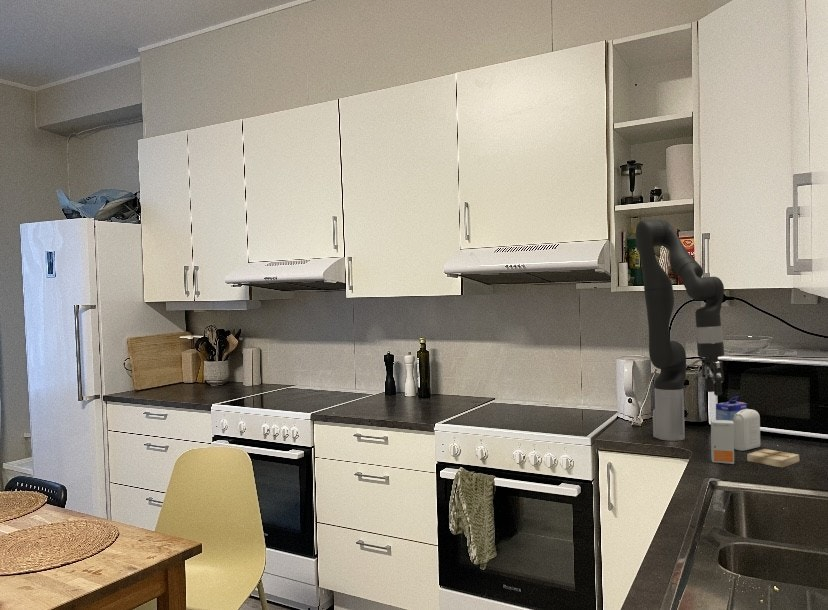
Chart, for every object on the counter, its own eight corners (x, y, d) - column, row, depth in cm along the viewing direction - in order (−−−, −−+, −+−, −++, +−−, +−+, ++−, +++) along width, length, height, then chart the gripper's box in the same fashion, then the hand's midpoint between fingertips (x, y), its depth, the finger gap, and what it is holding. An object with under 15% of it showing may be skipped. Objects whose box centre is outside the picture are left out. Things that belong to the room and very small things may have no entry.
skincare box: (712, 462, 192) (711, 422, 192) (711, 459, 196) (710, 419, 196) (735, 464, 190) (734, 423, 190) (733, 460, 194) (732, 420, 194)
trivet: (747, 460, 193) (747, 453, 193) (764, 455, 199) (764, 447, 199) (782, 467, 185) (782, 459, 185) (799, 461, 191) (799, 453, 191)
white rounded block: (749, 444, 213) (748, 406, 213) (762, 447, 209) (761, 408, 209) (731, 449, 207) (730, 410, 207) (744, 452, 204) (743, 412, 203)
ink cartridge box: (729, 442, 217) (728, 398, 216) (715, 439, 222) (714, 396, 221) (748, 438, 222) (747, 395, 221) (733, 435, 226) (732, 393, 226)
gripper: (691, 341, 211) (695, 391, 210) (703, 343, 197) (707, 397, 196) (716, 339, 210) (720, 390, 209) (729, 341, 196) (734, 395, 195)
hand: (714, 393), depth 203 cm, fingers open, 8 cm apart
